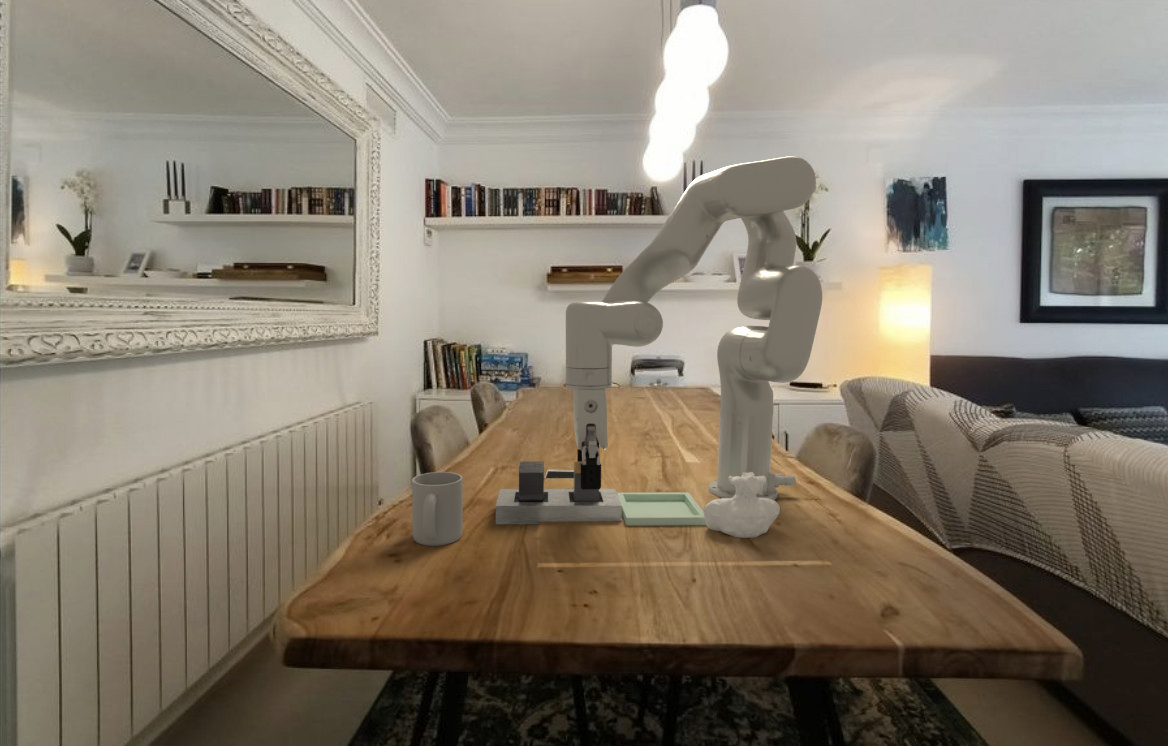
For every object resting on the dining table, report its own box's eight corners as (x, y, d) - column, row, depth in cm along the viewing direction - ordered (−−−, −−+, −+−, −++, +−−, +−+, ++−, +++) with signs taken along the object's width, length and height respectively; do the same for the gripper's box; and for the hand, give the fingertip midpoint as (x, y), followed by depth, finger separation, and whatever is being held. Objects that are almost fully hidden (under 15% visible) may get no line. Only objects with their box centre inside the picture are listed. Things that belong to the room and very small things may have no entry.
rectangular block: (596, 507, 101) (597, 461, 100) (598, 515, 97) (599, 467, 96) (572, 507, 101) (573, 461, 100) (573, 515, 96) (574, 467, 96)
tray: (688, 501, 106) (688, 492, 106) (707, 527, 94) (708, 517, 93) (616, 501, 106) (616, 492, 105) (626, 528, 93) (626, 517, 92)
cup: (466, 528, 91) (466, 472, 91) (454, 554, 82) (453, 491, 81) (419, 528, 91) (419, 471, 90) (401, 554, 81) (400, 491, 80)
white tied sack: (703, 550, 90) (721, 508, 82) (693, 507, 96) (709, 465, 88) (779, 548, 91) (803, 507, 84) (765, 506, 97) (786, 464, 89)
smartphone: (539, 495, 110) (539, 490, 110) (547, 473, 125) (547, 468, 125) (577, 496, 110) (577, 491, 110) (581, 474, 125) (581, 469, 125)
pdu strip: (614, 505, 104) (616, 458, 103) (621, 523, 95) (622, 471, 94) (500, 505, 102) (500, 457, 101) (495, 524, 93) (495, 471, 92)
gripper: (617, 384, 88) (617, 495, 90) (606, 372, 105) (605, 465, 107) (567, 384, 88) (568, 496, 90) (564, 372, 105) (564, 466, 107)
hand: (588, 479), depth 98 cm, fingers open, 9 cm apart
